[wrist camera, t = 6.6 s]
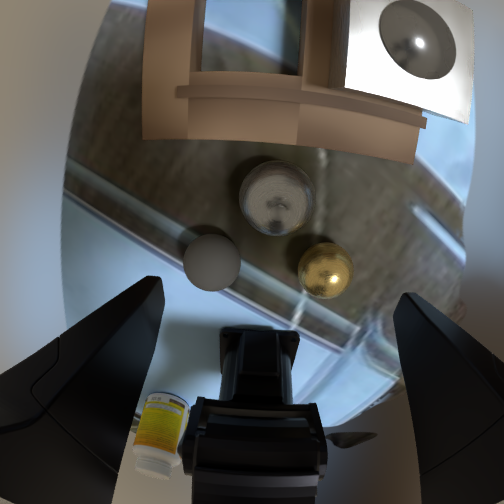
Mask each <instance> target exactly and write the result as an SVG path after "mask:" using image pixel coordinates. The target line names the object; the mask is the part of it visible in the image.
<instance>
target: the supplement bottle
mask: <svg viewBox="0 0 504 504" xmlns="http://www.w3.org/2000/svg"><path fill="white" fill-rule="evenodd" d="M189 413H190V408H189V406H188V404H187V403H186V402H185V401H183V400H182V399H180V398H178V397H176V396H173V395H170V394H166V393H153V394H150V395H149V396H148V397H147V399H146V402H145V405H144V408H143V412H142V415H141V419H140V422H139V426H138V430H137V434H136V437H135V441H134V444H133V449H132V450H133V453H134V454H135V455H136V456H137V457H139V458H137V461H136V466H135V470H136V471H138V472H140V473H142V474H144V475H147V476H150V477H154V478H158V479H170V476H171V472H172V467H173V466H177V465H179V464H180V462H181V457H180V456H179V455H178V453H177V447H178V444H179V442H180V440H181V438H182V435H183V433H184V431H185V429H186V426H187V423H188V419H189Z"/></svg>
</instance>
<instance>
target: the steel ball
mask: <svg viewBox="0 0 504 504" xmlns="http://www.w3.org/2000/svg"><path fill="white" fill-rule="evenodd" d="M315 201H316V196H315V189H314V186H313V183H312V181H311V180H310V178H309V177H308V175H307V174H306V173H305V172H304V171H303V170H302V169H301V168H300V167H298V166H296V165H295V164H292V163H290V162H287V161H281V160H273V161H267V162H264V163H262V164H260V165H258V166H256V167H255V168H253V169H252V170H251V171H250V172H249V173H248V174H247V175H246V177H245V179H244V180H243V182H242V185H241V188H240V192H239V204H240V208H241V211H242V214H243V216H244V218H245V219H246V221H247V222H248V223H249V224H250V225H251V226H252V227H253V228H254V229H256V230H257V231H259V232H261V233H263V234H266V235H270V236H286V235H289V234H292V233H294V232H296V231H298V230H299V229H301V228H302V227H303V226H304V225H305V224H306V223H307V222H308V221H309V219H310V217H311V216H312V214H313V211H314V208H315Z"/></svg>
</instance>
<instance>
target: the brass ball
mask: <svg viewBox="0 0 504 504" xmlns="http://www.w3.org/2000/svg"><path fill="white" fill-rule="evenodd" d="M353 272H354V269H353V263H352V260H351V258H350V256H349V254H348V253H347V252H346V251H345V250H344V249H343V248H342V247H340V246H339V245H336V244H333V243H328V242H324V243H318V244H315V245H313V246H311V247H310V248H309V249H307V250H306V251H305V252H304V254H303V255H302V257H301V259H300V261H299V265H298V277H299V281H300V283H301V285H302V287H303V288H304V289H305V290H306V291H307V292H308V293H309V294H310V295H312V296H314V297H316V298H320V299H331V298H335V297H337V296H339V295H341V294H342V293H343V292H344V291H345V290H346V289H347V288H348V287H349V285H350V283H351V281H352V278H353Z"/></svg>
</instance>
